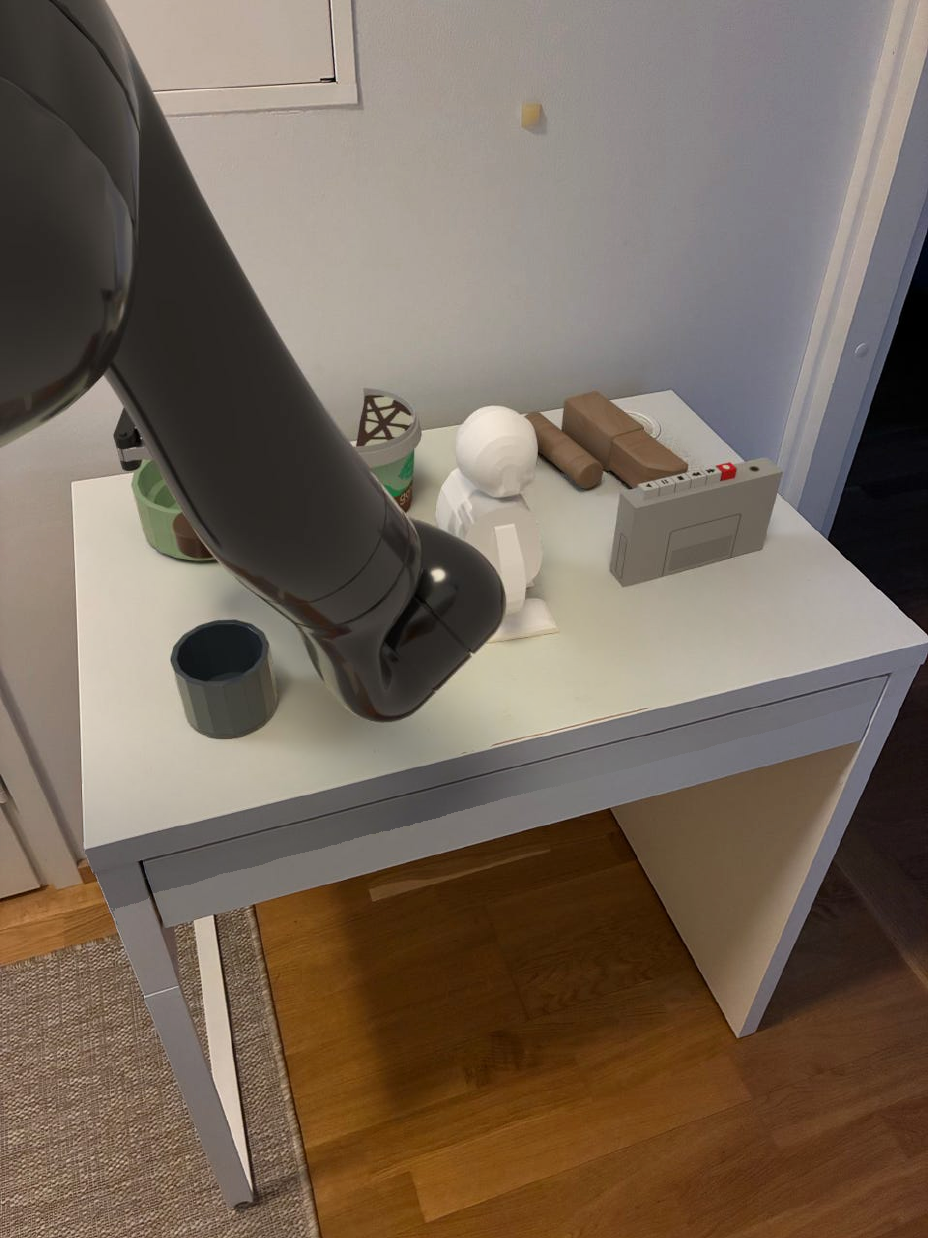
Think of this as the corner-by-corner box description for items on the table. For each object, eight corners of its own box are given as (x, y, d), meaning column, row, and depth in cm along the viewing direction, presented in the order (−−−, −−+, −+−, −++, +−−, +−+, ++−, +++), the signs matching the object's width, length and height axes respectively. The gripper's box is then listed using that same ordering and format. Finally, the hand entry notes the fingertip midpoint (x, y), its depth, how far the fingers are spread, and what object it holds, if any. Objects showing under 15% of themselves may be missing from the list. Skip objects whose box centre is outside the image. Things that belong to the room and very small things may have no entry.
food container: (420, 537, 95) (418, 450, 88) (358, 536, 95) (351, 449, 88) (425, 469, 104) (424, 386, 98) (369, 468, 104) (363, 384, 98)
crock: (197, 751, 74) (183, 697, 70) (175, 688, 79) (161, 635, 75) (289, 720, 77) (280, 667, 73) (262, 662, 82) (252, 609, 78)
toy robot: (566, 646, 84) (587, 447, 70) (467, 665, 82) (470, 465, 68) (516, 551, 94) (527, 362, 80) (427, 567, 92) (423, 375, 78)
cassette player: (746, 533, 96) (767, 447, 90) (762, 549, 94) (785, 462, 88) (609, 570, 92) (621, 482, 85) (623, 587, 90) (637, 498, 83)
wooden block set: (593, 377, 109) (695, 453, 97) (588, 421, 112) (685, 499, 101) (462, 412, 102) (554, 497, 91) (461, 458, 106) (550, 545, 94)
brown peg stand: (184, 565, 75) (141, 384, 65) (171, 532, 78) (127, 354, 68) (244, 549, 77) (211, 370, 66) (228, 517, 80) (195, 342, 70)
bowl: (161, 579, 90) (148, 528, 86) (133, 505, 99) (119, 455, 95) (296, 543, 94) (289, 492, 90) (257, 476, 103) (249, 426, 99)
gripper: (356, 395, 60) (236, 300, 71) (146, 462, 54) (50, 347, 65) (363, 494, 65) (250, 392, 76) (172, 566, 59) (78, 444, 70)
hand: (158, 372), depth 70 cm, fingers closed on brown peg stand
